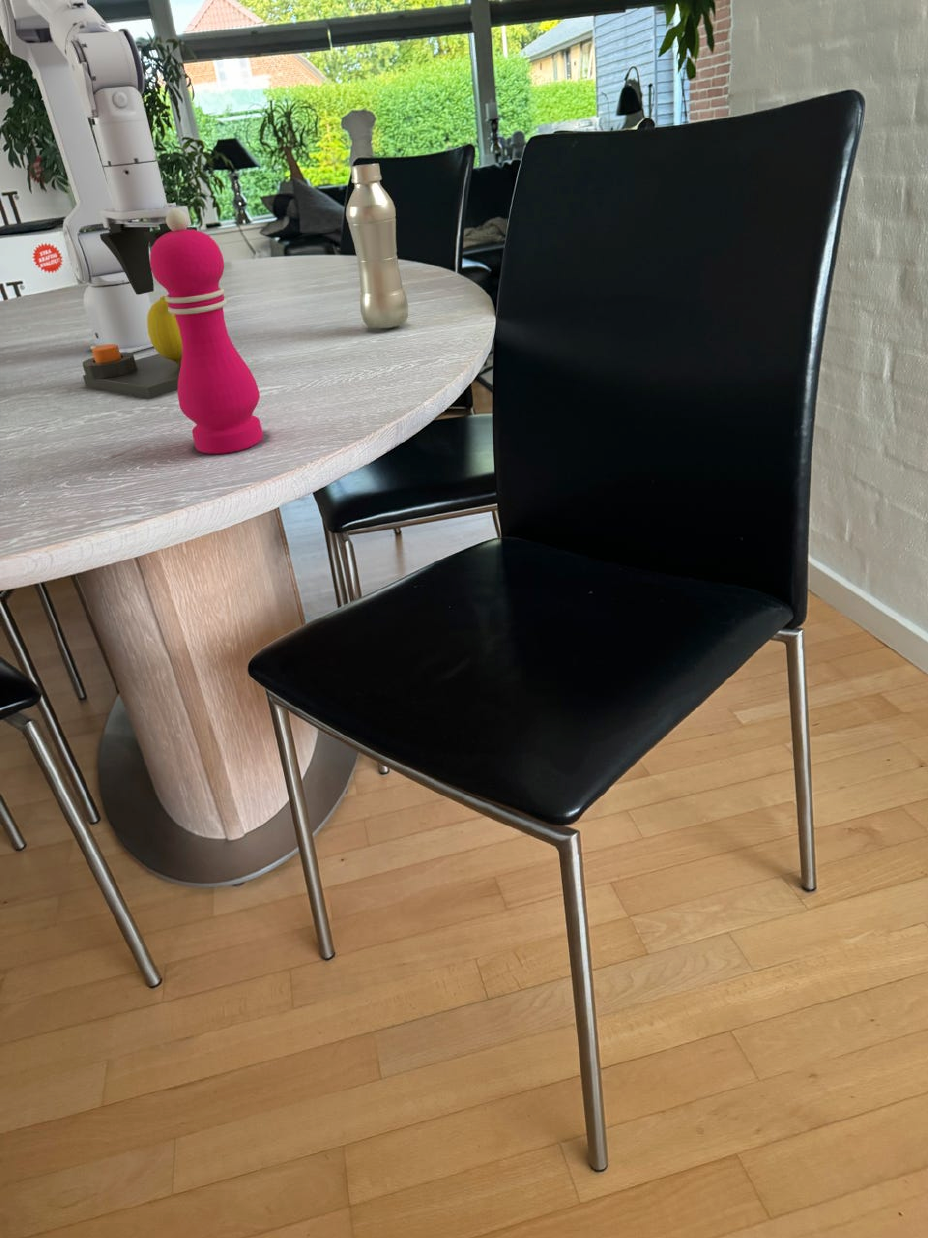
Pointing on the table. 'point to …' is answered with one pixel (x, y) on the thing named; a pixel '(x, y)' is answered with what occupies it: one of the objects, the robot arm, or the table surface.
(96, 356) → the button
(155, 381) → the grey peg base
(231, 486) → the table surface
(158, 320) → the lemon
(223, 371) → the pepper mill
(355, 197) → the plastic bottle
